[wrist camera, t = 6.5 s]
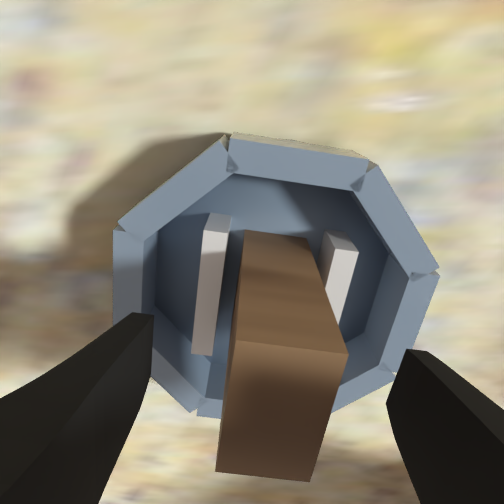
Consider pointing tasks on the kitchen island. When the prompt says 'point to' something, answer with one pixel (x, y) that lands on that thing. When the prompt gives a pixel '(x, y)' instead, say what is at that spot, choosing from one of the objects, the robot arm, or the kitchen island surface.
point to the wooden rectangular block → (279, 362)
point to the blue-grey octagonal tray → (278, 222)
